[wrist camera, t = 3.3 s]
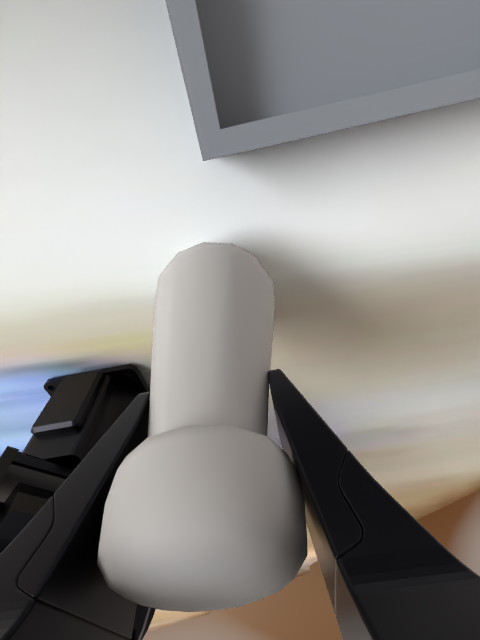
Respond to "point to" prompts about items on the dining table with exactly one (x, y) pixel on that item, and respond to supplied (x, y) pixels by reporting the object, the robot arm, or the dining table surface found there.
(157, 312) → the salt shaker
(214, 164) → the dining table surface
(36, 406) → the dining table surface
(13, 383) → the dining table surface
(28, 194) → the dining table surface
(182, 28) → the bin
